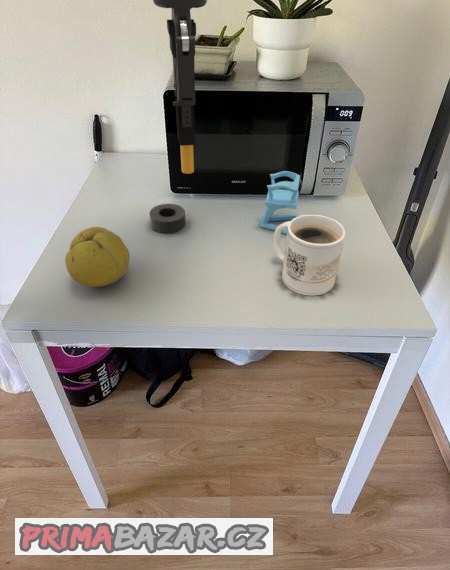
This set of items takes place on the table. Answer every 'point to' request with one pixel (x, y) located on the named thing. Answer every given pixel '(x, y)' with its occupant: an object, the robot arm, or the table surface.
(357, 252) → the table surface
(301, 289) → the mug
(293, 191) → the chair
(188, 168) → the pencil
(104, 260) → the fruit
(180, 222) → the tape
